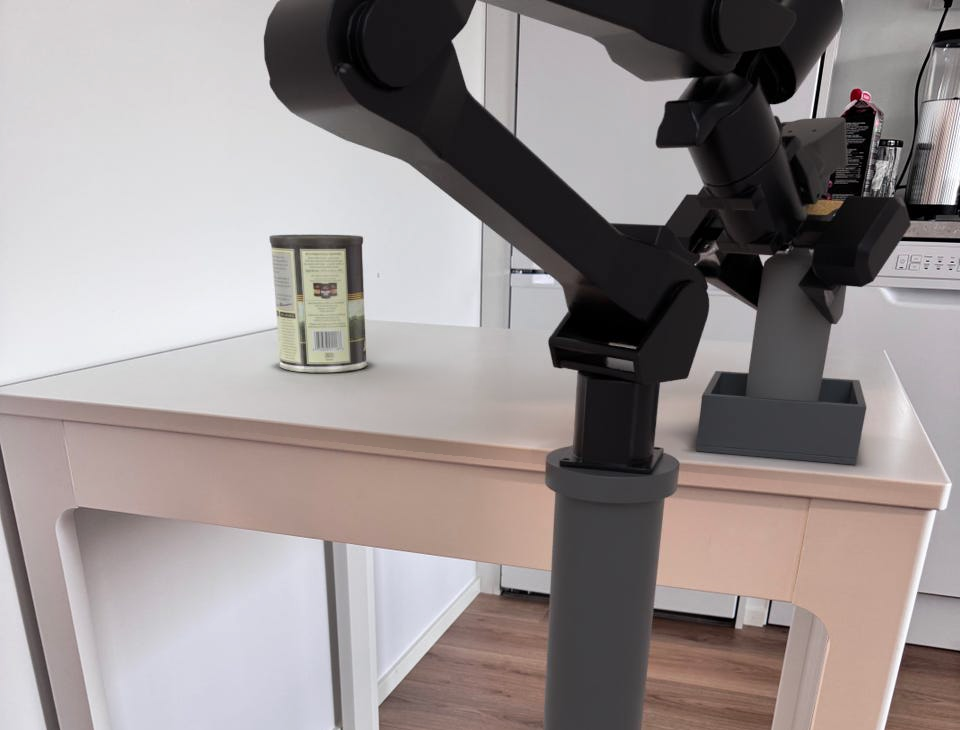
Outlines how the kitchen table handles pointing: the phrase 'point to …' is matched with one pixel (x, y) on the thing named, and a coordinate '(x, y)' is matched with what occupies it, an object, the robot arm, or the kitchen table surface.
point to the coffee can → (319, 302)
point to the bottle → (788, 328)
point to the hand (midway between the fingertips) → (803, 315)
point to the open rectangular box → (782, 421)
